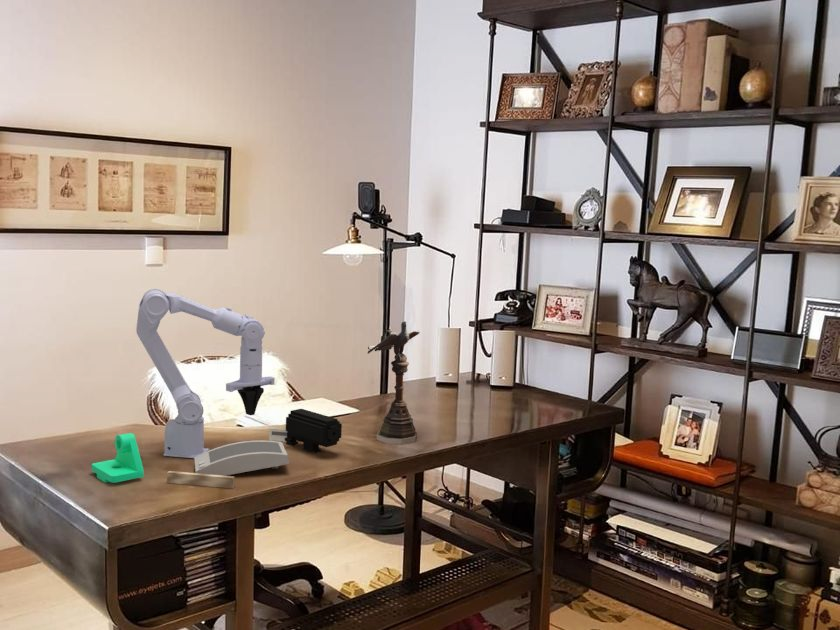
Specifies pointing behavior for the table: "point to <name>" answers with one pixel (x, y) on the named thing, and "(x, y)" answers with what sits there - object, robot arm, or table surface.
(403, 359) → the bird statue
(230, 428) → the table surface
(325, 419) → the security camera
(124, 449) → the camera mount
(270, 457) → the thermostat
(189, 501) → the table surface
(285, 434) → the label tag
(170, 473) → the rail
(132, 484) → the table surface
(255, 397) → the robot arm
